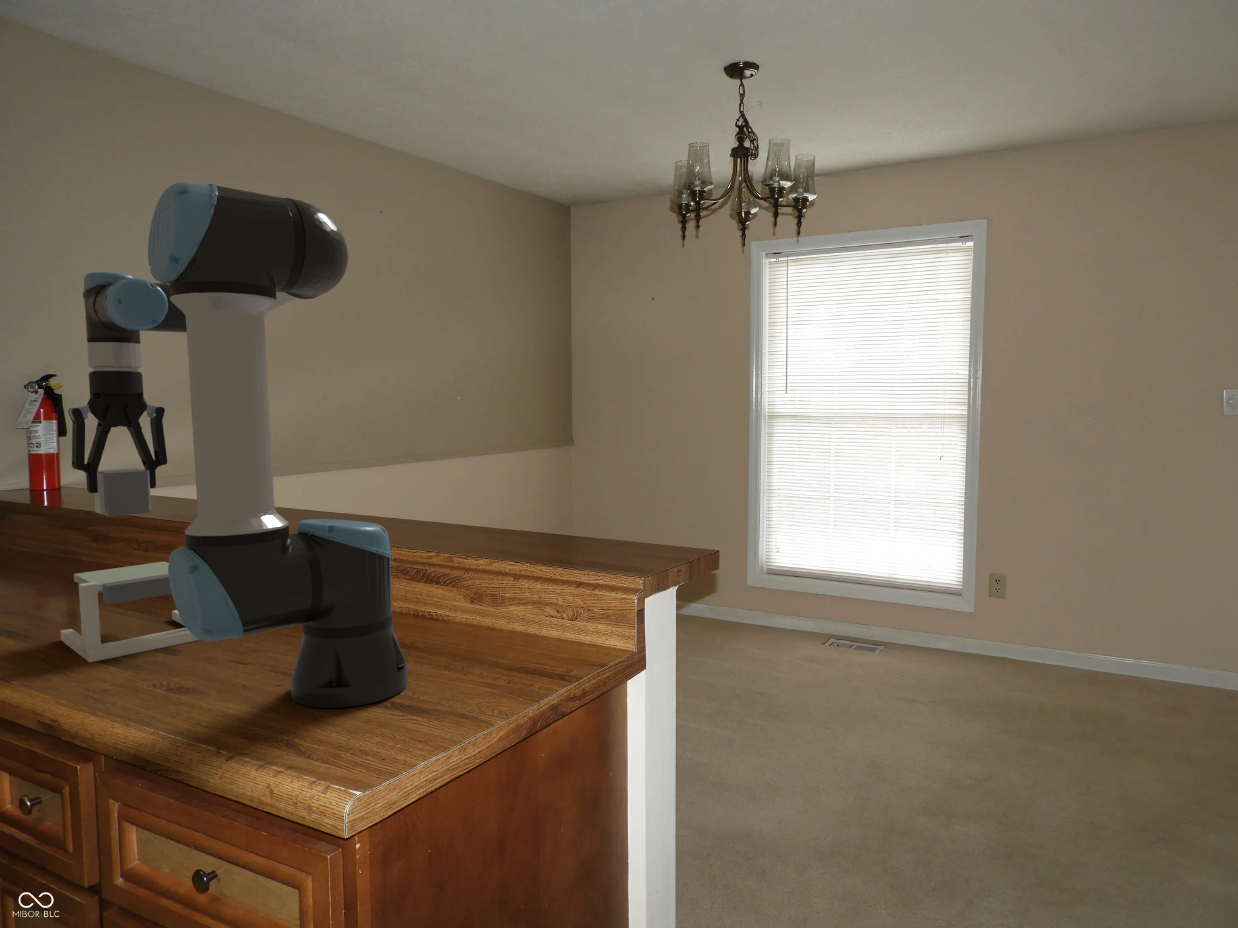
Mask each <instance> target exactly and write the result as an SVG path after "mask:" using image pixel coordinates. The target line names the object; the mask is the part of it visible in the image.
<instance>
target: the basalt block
mask: <svg viewBox="0 0 1238 928" xmlns="http://www.w3.org/2000/svg"><path fill="white" fill-rule="evenodd" d="M143 469H144V468H143ZM143 469H142V468H137V467H133V468H132V467H131V468H129V467H128V468H117V469H101V470H99V469H98V471H97V472H99V473H103V482H104V498H105V513H103V514H102V516H103V515H104V516H106V517H107V518H108V517H119V516H128V515H138V514H147V513H148V514H149V513H150V509H149V493H148V475H147V470H143Z"/></svg>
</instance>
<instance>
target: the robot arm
mask: <svg viewBox="0 0 1238 928" xmlns="http://www.w3.org/2000/svg"><path fill="white" fill-rule="evenodd" d="M147 260H148V265H149V269H150V274H151V276H152V278H153V279H154V280H155V281H157V282H152V281H150V280H147V279H144V278H140V277H139V278H135V277H134V276H133V275H131V274H127V273H121V272H111V271H97V272H89V273H87V274H85V276H84V277H83V292H82V298H83V302H84V319H85V330H86V331H85V332H86V343H87V345H86V346H87V366H88V367H89V368H91V369H92V371H89V373H88V385H89V386H88V387H89V400H88V402H87V403H86V405H81V406H79V407H70V408H69V409H68V411H67V412H68V416H69V418H70V420H71V423H72V424H71V425H72V435H71V437H72V438H71V467H72V469H74V470H78V471H81V472H84V473H85V478H86V479H85V480H86V491H87V492H88V494H94V511H95V513H97V514H99V515H103V513H105V498H104V482H103V473H99V472H97V471H98V470H99V467H100V464H101V460H102V457H103V454H104V451H105V447H106V444H107V440H108V436H109V434H110V432H111V430H112V428H117V427H124V428H126V429H127V431H128V432H129V434H130V436H131V439H132V442H133V444H134V446H135V449H136V451H137V453H138V455H139V458H140V461H141V463H142V465H143V467H144V468H143V470H147V475H148V493H149V510H151V509H152V501H151V496H152V495H151V489H156V486H157V478H156V475H157V474H156V470H157V469H158V468H159V467H161V466H165V465H167V464H168V456H167V454H168V453H167V448H166V439H165V431H164V424H163V422H164V421H163V420H164V416H165V413H166V412H165V411H166V409H165V408H164V407H163V406H156V405H155V406H154V405H151V404H148V402H147V400H146V399H145V397H144V383H143V382H144V379H143V373H142V372H141V371H139V369H141V368H142V367H143V363H142V362H143V359H142V347H141V332H145V331H146V332H161V333H162V332H168V333H186V341H187V356H188V358H187V359H188V360H187V361H188V372H189V373H188V374H189V388H190V389H189V391H190V405H191V424H192V439H193V441H192V442H193V456H194V458H193V459H194V470H195V471H194V473H195V488H196V490H195V491H196V503H197V505H196V506H197V516H196V518H195V519H194V520H193V521H192V522H191V523H189V525H188V526H187V527H186V528H185V529H184V541H185V542H184V543H185V544H184V545H185V546H184V545H183V546H179V547H178V548H175V549H174V550H172V551H171V553H170V554H169V556H168V563H169V566H168V575H169V582H170V588H171V592H172V594H171V595H172V599H173V602H174V605H175V607H176V610H178V613H179V615H180V617H181V619H182V621H183V623H184V625H185V628H187V629H188V630H189V632H190V633H191V634H192V635H194V636H195V637H196V638H198V639H200V640H199V641H204V642H216V641H221V640H228V639H234V640H239V639H241V638H243V637H245V636H250V635H254V634H259V633H264V632H268V631H273V630H277V629H282V628H287V627H291V626H297V625H302V640H301V642H300V646H299V650H298V654H297V656H296V660H295V663H294V664H295V665H294V668H293V671H292V674H291V678H290V693H291V695H290V696H291V699H292V700H293V701H294V702H296V703H298V704H299V705H303V706H306V707H310V708H312V707H313V708H322V709H335V708H336V709H337V708H350V707H357V706H363V705H368V704H372V703H377V702H380V701H383V700H386V699H388V698H391V697H393V696H395V695H397V694H399V693H400V692H402V691H403V690H405V688H406V687H407V686H408V683H409V682H408V666H407V663H406V660H405V658H404V654H403V653H402V650H401V647H400V645H399V642H398V639H397V637H396V634H395V631H394V627H393V626H394V625H393V602H392V601H393V600H392V599H393V598H392V570H391V569H392V567H391V565H392V564H391V562H392V560H391V559H392V557H393V556H392V552H391V546H390V539H389V538H390V537H389V532H388V531H387V529H386V528H385V527H384V526H383V525H380V524H378V523H375V522H368V521H360V520H359V521H357V520H351V519H350V520H349V519H328V518H327V519H324V518H323V519H322V518H318V519H317V518H316V519H315V518H314V519H312V518H311V519H302V520H300V521H299V522H298V524H297V527H296V528H295V529H296V532H297V533H296V532H295V533H290V525H289V521H288V520H286V519H285V518H284V517H283V516H282V515H280V514H279V513H278V512H277V510H276V506H275V493H274V475H273V474H274V473H273V469H274V468H273V456H272V454H273V453H272V437H271V433H272V432H271V419H270V402H269V401H270V400H269V385H268V383H269V381H268V380H269V379H268V366H267V365H268V363H267V345H266V329H265V317H266V315H267V314H268V313H270V312H271V311H273V310H276V309H278V308H280V307H282V306H284V305H286V304H288V303H290V302H292V301H294V300H296V299H298V300H311V299H317V297H321V296H322V295H324V294H326V293H328V292H330V291H331V290H333V289H334V288H335V287H336V286H337V285H338V284H339V283H341V281H342V280H343V278H344V277H345V274H346V271H347V268H348V264H349V263H348V262H349V251H348V247H347V241H346V239H345V238H344V235H343V233H342V231H341V229H340V228H339V226H338V225H337V223H336V222H334V220H332V218H331V217H330V216H329V215H328V214H326V213H325V212H324V211H323V210H321V209H320V208H319V207H316V206H315V205H313V204H310V203H308V202H306V201H303V200H300V199H297V198H296V199H294V198H289V197H281V196H274V195H269V194H263V193H259V192H252V191H248V190H244V189H243V190H241V189H236V188H233V187H232V188H231V187H226V186H221V185H216V184H214V183H209V184H202V183H201V184H200V183H192V182H183V181H182V182H181V181H180V182H176V183H173V184H172V185H170V186H168V187H167V188H165V189H164V190H163V192H162V194H161V195H160V197H159V198H158V200H157V203H156V205H155V209H154V212H153V215H152V218H151V223H150V227H149V233H148V244H147ZM145 412H146V414H147V417H148V418H149V421H150V422H149V424H150V433H151V440H152V448H153V454H152V452H151V450H150V447H149V444H148V442H147V439H146V437H145V435H144V432H143V428H142V426H141V422H140V419H141V417H142V416H143V414H144V413H145ZM89 413H91V415H92V416H94V418H95V419H96V420H97V424H96V427H95V433H94V436H93V440H92V444H91V446H90V447H91V448H90V450H89V454H88V456H87V457H88V458H87V461H86V460H85V459H86V457H85V455H86V451H85V450H86V420H87V418H89V417H88V414H89ZM85 461H86V462H85ZM184 625H183V626H184Z"/></svg>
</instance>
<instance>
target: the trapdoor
mask: <svg viewBox="0 0 1238 928" xmlns="http://www.w3.org/2000/svg"><path fill="white" fill-rule="evenodd" d="M168 566H169V562H167V561H159V562H158V561H157V562H151V563H145V564H138V565H131V566H130V565H128V566H122V567H116V568H108V569H99V570H93V571H84V572H78V573H73V581H74V582H75V583H77V584H78V585H79V584H83V583H90V582H95V583H96V584H97V590H98V594H99V593H102V601H103V602H104V603H105V604H107V605H113V604H119V603H125V602H131V601H132V602H133V601H138V600H144V599H149V598H156V597H160V596H168V595H172V592H171V588H170V582H169V575H168ZM103 602H102V603H103Z"/></svg>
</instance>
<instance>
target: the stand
mask: <svg viewBox="0 0 1238 928" xmlns="http://www.w3.org/2000/svg"><path fill="white" fill-rule="evenodd" d="M78 596H79V611H80V624H81V625H80V627H81V634H80V633H78V632H77V631H75V630H74V629H72V628H69V629H63V630H60V641H62V642H63V643H64V644H65V645H66V646H68V647H69V648H70V649H72V650H73V651H75V653H77V654H78V655H79V656H80V657H82V658H83V659H85V660H86V661H87V662H88V663H93V662H98V661H99V662H101V661H103V660H104V661H105V660H108V659H109V660H110V659H113V658H118V657H123V656H129V655H133V654H138V653H142V652H143V653H144V652H148V651H152V650H158V649H162V648H168V647H171V646H177V645H183V644H187V643H192V642H196V641H201V640H200V639H198V638H196V637H195V636H194V635H192V634H191V633H190V632H189V630H188V629H187V628H186V626H185V625H184V623H183V621H182V619H181V617H180V615H179V613H178V610H177V609H174V610H172V611H171V612H172V613H171V614H172V616H171V617H172V621H175V622H177V623H179V624H180V625H182V626H185V627H181V628H177V629H173V630H168V631H161V632H157V633H151V634H146V635H141V636H136V637H129V638H125V639H121V640H115V641H111V642H110V641H109V642H106V643H102V641H101V640H102V639H101V626H100V625H101V624H100V610H99V609H100V607H99V606H100V605H99V593H98V590H97V584H96V583H95V582H90V583H83V584H79V583H78Z"/></svg>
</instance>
